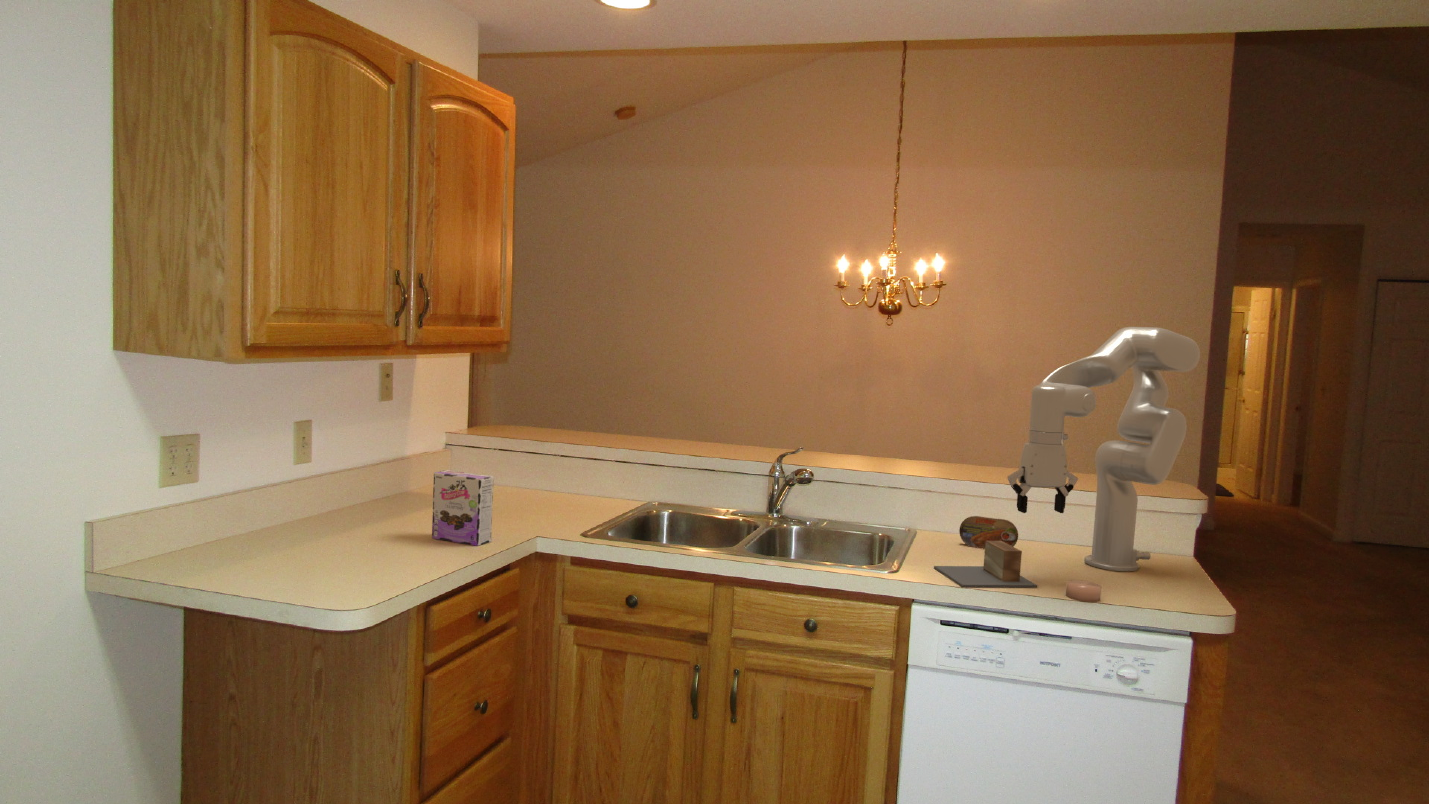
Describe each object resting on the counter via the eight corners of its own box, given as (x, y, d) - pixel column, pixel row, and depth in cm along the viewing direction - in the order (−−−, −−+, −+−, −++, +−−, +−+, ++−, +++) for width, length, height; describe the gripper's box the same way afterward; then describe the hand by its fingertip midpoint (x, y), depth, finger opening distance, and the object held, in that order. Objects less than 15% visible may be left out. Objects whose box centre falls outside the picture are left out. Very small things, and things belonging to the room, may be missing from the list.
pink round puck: (1089, 593, 207) (1090, 580, 207) (1106, 602, 200) (1107, 589, 200) (1059, 593, 206) (1061, 579, 206) (1076, 602, 199) (1077, 588, 199)
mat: (1003, 568, 225) (1004, 566, 225) (1037, 587, 209) (1037, 585, 209) (933, 568, 222) (933, 565, 222) (962, 587, 206) (962, 584, 206)
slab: (999, 569, 221) (1001, 540, 221) (1019, 581, 211) (1021, 551, 211) (982, 569, 221) (985, 540, 220) (1002, 581, 211) (1005, 551, 210)
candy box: (430, 538, 225) (432, 471, 224) (446, 534, 231) (447, 468, 230) (477, 546, 220) (479, 478, 219) (492, 541, 226) (494, 475, 224)
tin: (957, 545, 248) (960, 514, 248) (960, 543, 251) (962, 512, 251) (1015, 554, 242) (1018, 522, 241) (1018, 551, 244) (1020, 520, 244)
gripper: (1071, 437, 220) (1066, 508, 221) (1003, 435, 217) (998, 508, 219) (1089, 441, 213) (1083, 515, 214) (1018, 440, 210) (1013, 515, 211)
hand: (1040, 511), depth 216 cm, fingers open, 8 cm apart
